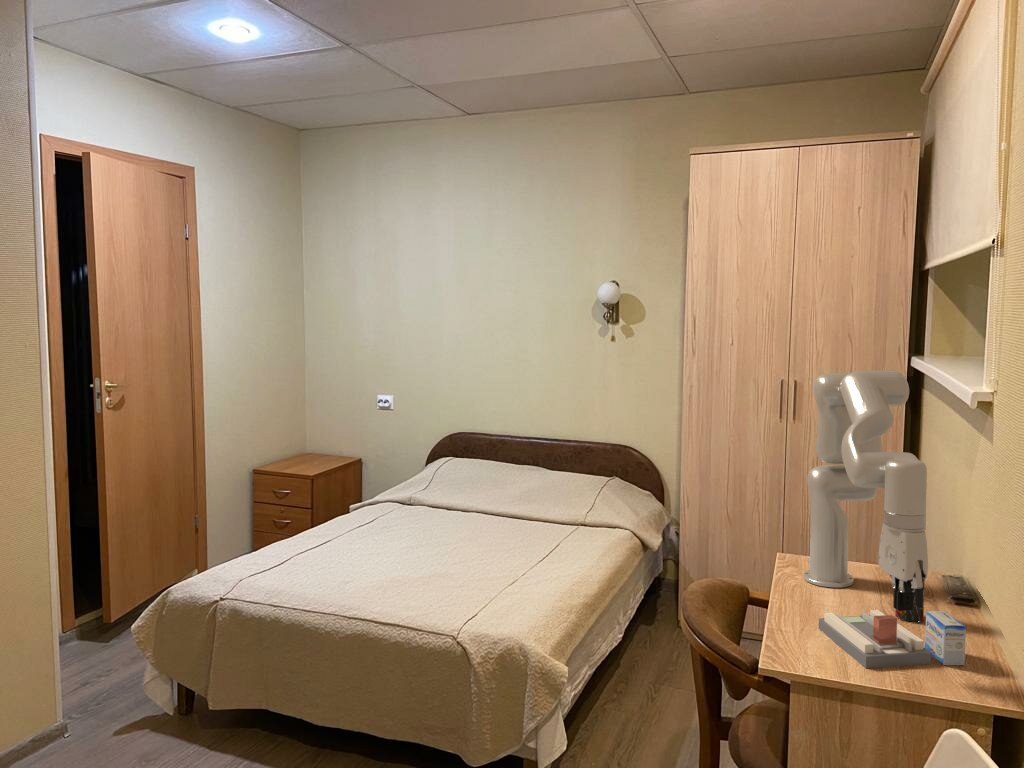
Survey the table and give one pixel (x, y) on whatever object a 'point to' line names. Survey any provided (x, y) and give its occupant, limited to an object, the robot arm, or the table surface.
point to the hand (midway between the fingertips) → (903, 609)
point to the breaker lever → (885, 631)
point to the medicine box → (945, 638)
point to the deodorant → (914, 608)
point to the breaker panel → (867, 652)
